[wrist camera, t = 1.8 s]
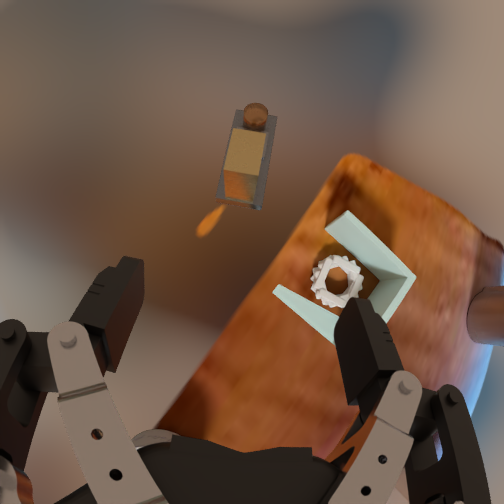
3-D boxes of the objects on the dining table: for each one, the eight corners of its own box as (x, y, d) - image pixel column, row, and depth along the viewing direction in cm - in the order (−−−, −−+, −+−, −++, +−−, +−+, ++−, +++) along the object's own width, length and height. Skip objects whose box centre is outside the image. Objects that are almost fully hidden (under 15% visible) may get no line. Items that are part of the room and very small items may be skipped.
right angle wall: (328, 224, 40) (347, 209, 32) (387, 280, 39) (416, 277, 32) (272, 292, 38) (281, 291, 31) (338, 348, 38) (360, 358, 30)
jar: (371, 494, 34) (400, 531, 22) (401, 460, 35) (438, 492, 23) (401, 501, 34) (431, 533, 22) (428, 469, 35) (463, 497, 23)
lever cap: (252, 202, 37) (258, 175, 29) (225, 197, 37) (223, 169, 28) (258, 167, 38) (266, 133, 29) (232, 163, 38) (233, 128, 29)
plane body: (260, 210, 39) (264, 198, 35) (216, 202, 39) (214, 189, 34) (275, 123, 42) (280, 105, 37) (236, 116, 41) (236, 97, 36)
